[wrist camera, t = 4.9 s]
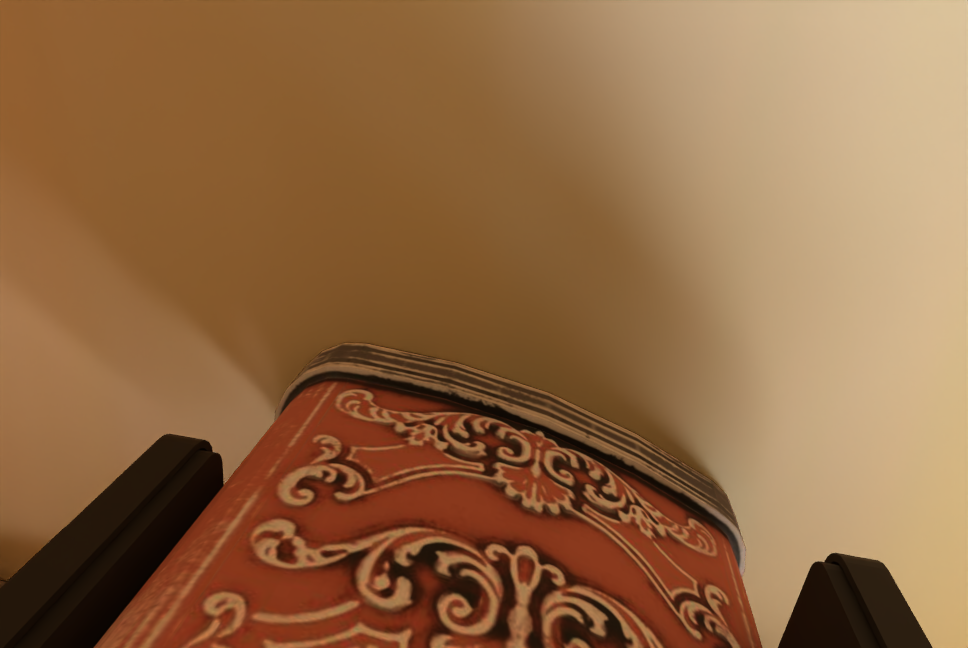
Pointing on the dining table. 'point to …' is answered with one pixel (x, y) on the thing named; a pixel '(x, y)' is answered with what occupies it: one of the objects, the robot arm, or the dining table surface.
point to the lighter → (447, 526)
